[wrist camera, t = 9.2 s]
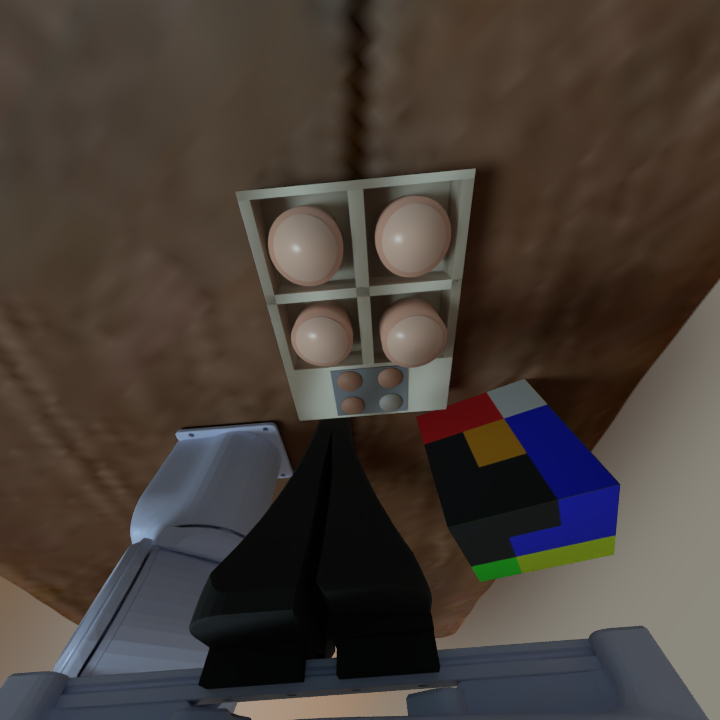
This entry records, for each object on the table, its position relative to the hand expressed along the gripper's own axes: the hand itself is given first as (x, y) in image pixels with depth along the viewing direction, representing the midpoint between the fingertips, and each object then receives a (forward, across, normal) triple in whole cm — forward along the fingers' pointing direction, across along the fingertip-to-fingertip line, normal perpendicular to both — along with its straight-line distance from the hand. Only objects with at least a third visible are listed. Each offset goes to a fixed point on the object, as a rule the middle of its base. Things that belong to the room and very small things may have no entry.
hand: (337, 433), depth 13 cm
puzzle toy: (+10, -12, +12) cm, 20 cm away
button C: (+9, +1, -7) cm, 11 cm away
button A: (+9, +1, -2) cm, 9 cm away
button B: (+8, -5, -1) cm, 9 cm away
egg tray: (+10, -2, -2) cm, 10 cm away
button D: (+9, -5, -7) cm, 12 cm away
